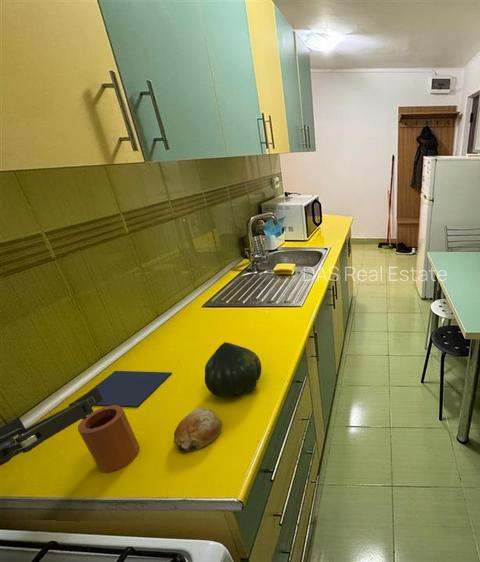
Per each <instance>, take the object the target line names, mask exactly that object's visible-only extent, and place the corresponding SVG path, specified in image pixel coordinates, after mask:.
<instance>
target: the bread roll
mask: <svg viewBox="0 0 480 562" xmlns="http://www.w3.org/2000/svg"><path fill="white" fill-rule="evenodd" d="M222 423H223V422H222V421H221V420H220V418H219V416H218V414H216V413H215V411H213V410H212V409H211V408H206V407H203V408H196V409H193V410H192V411H190V412H189V413H188V414H187V415H185V416H184V417H183V418H182V419H181V420H180V421H179V423H178V424H177V426H176V427H175V430H174V433H173V443H174V444H175V447H176V448H177V450H178V451H179V452H185V451H186V452H192V451H193V452H194V451H197V450H200V449H202V448H204V447H206V446H207V445H209V444H211V443H212V442H213V441H214V440H215V439H216V438H217V437H218V435H219V434H220V432H221V430H222Z"/></svg>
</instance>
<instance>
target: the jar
mask: <svg viewBox="0 0 480 562" xmlns="http://www.w3.org/2000/svg"><path fill="white" fill-rule="evenodd" d="M129 421H130V420H129V419H128V417H127V414H126V412H125V410H124V407H120V406H119V405H111V406H102V407H101V408H98V409H95V410H93V412H92V413H91V414H89V415H87V418H86V419H81V420H80V422H79V424H78V425H77V431H78V434H79V435H80V437H81V439H82V441H83V442H84V444H85V446H86V449H87V450H88V452H89V454H90V456H91V457H92V459H93V461H94V463H95V465H96V466H97V468H98V469H99V471H100V472H102V473H106V474H108V473H115V472H117V471H119V470H121V469H123V468H125V467H127V466H128V465H129V464H130V463H132V462H133V461H134V460H135V459H136V457H137V456H138V455H139V453H140V449H141V447H140V445H139V441H138V439H137V438H136V435H135V433H134V430H133V427H132V426H131V423H130V422H129Z"/></svg>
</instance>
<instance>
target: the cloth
mask: <svg viewBox="0 0 480 562" xmlns="http://www.w3.org/2000/svg"><path fill="white" fill-rule="evenodd" d="M172 375H173V371H138V370H136V371H135V370H114V371H113V372H111V373H110V374H109V375H107V376H106V377H105V378H104V379H103V380H101V381H100V382H98V383H97V384H96V385H95V386H94V387H92V388H91V389H90V390H89V391H91V390H92V389H94V388H97V389H98V391H99V392H100V394H101V396H102V398H103V400H102V401H100V402H99V403H97V404H96V405H95V406H94V407H106V406H111V405H119V406H120V407H122V408H139V407H140V406H141V405H142V404H143V403H144V402H145V401H146V400H147V399H148V398H150V396H151V395H152V394H153V393H154V392H156V390H157V389H158V388H159V387H160V386H161V385H162V384H163V383H164V382H165V381H167V379H169V377H171V376H172ZM89 391H87V392H86V393H88V392H89Z"/></svg>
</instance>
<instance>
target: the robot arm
mask: <svg viewBox="0 0 480 562" xmlns="http://www.w3.org/2000/svg"><path fill="white" fill-rule="evenodd" d="M93 388H94V387H93ZM91 389H92V388H91ZM91 389H90V390H91ZM90 390H88V391H87V392H88V393H87V392H86V393H84V394H83V395H81V396H79V397H78V398H76V399H75V400H74V401H72V402H71V403H69V404H68V406H67V407H65V408H63V409H61V410H58V411H57V412H55V413H53V414H51V415H49V416H47V417H45V418H43V419H41V420H39V421H37V422H35V423H33V424H31V425H29V426H27V427H25V425H24V424H23V422H22V420H21V419H20V417H19V416H18V417H16V418H14V419H11V420H10V421H8V422H6V423H5V424H3V425H2V426H0V467H1V466H2V465H5V464H7V463H8V462H10V461H11V459H12V458H14V457H16V456H18V455H19V454H21V453H22V454H26V453H29V452H31V451H32V450H33V449H35V448H36V447H38V446H39V445H40V444H42V443H43V442H45V441H47V440H49V439H50V438H52V437H54V436H55V435H57V434H59V433H60V432H62V431H64V430H65V429H67V428H68V427H71V426H72V425H74V424H75V423H77V422H78V421H81V420H83V419H86V418H87V416H88V415H89V414H91V413H92V412H94V409H93V407H96V406H95V405H96V404H97V403H99V402H100V401H102V400H103V398H102V396H101V394H100V392H99V391H98V389H97V388H94V389H92V390H91V391H90ZM16 436H17V437H16ZM15 437H16V438H15Z"/></svg>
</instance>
